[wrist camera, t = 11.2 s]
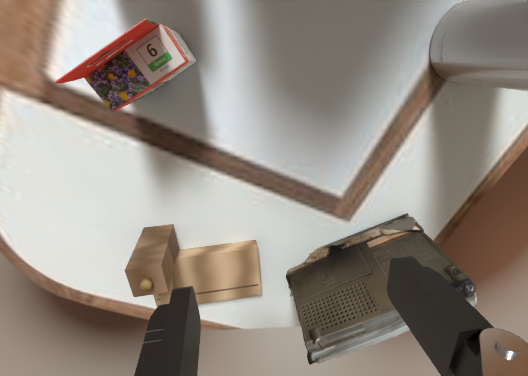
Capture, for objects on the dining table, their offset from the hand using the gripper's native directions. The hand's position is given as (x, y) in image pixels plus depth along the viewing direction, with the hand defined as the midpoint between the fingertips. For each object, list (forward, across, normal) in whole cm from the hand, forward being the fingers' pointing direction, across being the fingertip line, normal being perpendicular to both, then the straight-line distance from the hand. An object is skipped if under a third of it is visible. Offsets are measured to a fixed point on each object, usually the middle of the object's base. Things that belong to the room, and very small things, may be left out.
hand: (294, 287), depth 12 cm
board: (+28, +8, +22) cm, 36 cm away
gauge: (+28, +13, +19) cm, 36 cm away
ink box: (+28, +9, -8) cm, 31 cm away
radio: (+28, -15, +23) cm, 40 cm away
